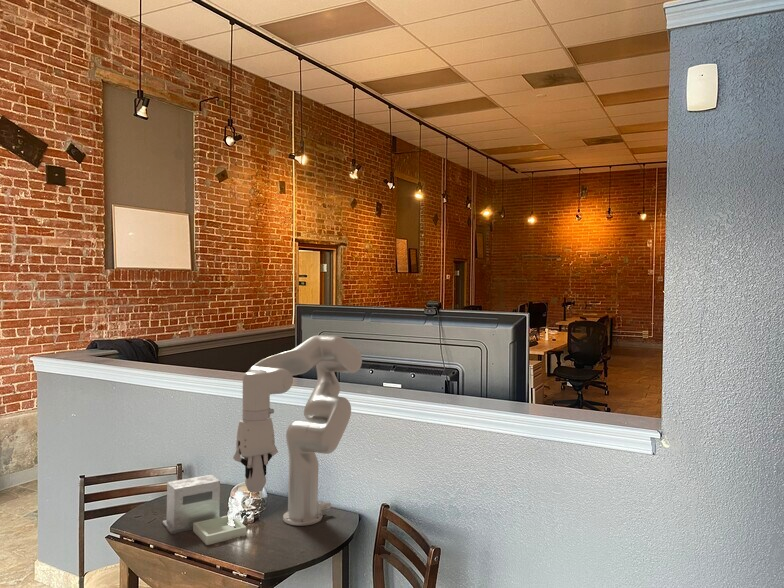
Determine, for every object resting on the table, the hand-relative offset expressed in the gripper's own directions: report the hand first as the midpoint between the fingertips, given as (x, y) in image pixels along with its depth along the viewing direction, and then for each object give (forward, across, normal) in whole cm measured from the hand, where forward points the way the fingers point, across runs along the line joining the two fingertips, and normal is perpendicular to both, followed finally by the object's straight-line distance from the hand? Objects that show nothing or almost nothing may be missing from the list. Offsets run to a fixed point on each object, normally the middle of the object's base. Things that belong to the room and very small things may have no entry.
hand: (255, 478), depth 160 cm
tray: (+20, +5, -16) cm, 26 cm away
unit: (+20, +9, -28) cm, 35 cm away
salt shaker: (+3, 0, 0) cm, 3 cm away
